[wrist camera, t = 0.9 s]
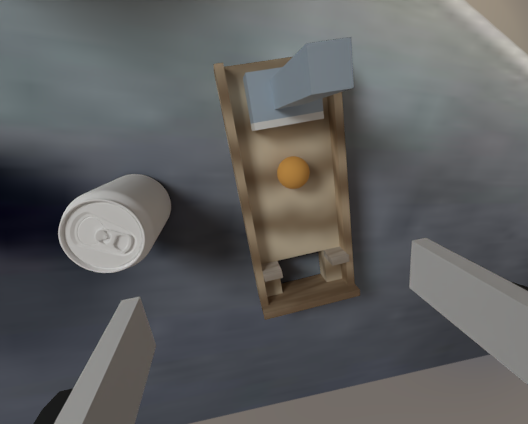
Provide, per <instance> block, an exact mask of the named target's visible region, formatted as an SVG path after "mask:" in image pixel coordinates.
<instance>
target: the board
mask: <svg viewBox="0 0 528 424" xmlns="http://www.w3.org/2000/svg"><path fill="white" fill-rule="evenodd" d="M291 58H292V57H288V58H281V59H274V60H268V61H261V62H254V63H247V64H240V65H234V66H227V67H224V65H223V63H217V64H214V75H215V80H216V85H217V90H218V95H219V100H220V105H221V110H222V115H223V120H224V125H225V130H226V135H227V140H228V145H229V150H230V155H231V160H232V165H233V170H234V174H235V179H236V184H237V189H238V194H239V199H240V204H241V209H242V214H243V219H244V224H245V229H246V234H247V239H248V244H249V249H250V254H251V259H252V264H253V269H254V274H255V279H256V284H257V289H258V294H259V298H260V302H261V306H262V310H263V314H264V318H265V320H266V319H270V318H274V317H278V316H282V315H286V314H290V313H294V312H297V311H301V310H305V309H309V308H313V307H317V306H321V305H325V304H329V303H333V302H337V301H340V300H344V299H348V298H352V297H356V296H360V289H359V288H358V287H357V286H356V285H355V283H354V268H353V253H352V238H351V223H350V208H349V193H348V177H347V162H346V147H345V132H344V117H343V102H342V92H340V93H337V94H334V95H330V96H327V97H324V98H322V101H323V113H324V119H318V120H313V121H307V122H301V123H296V124H290V125H284V126H278V127H273V128H267V129H261V130H256V131H252V129H251V123H250V117H249V111H248V106H247V100H246V94H245V88H244V82H243V77H244V75H245V73H246V72H253V71H260V70H266V69H273V68H280V67H283V66H284V65H285V64H286V63H287V62H288V61H289V60H290V59H291ZM291 156H296V157H300V158H302V159H303V160H304V161H305V162H306V163H307V164H308V166H309V170H310V175H309V179H308V181H307V182H306V183H305V184H304V185H303V186H302V187H300V188H297V189H289V188H286V187H284V186H283V185H282V184H281V183H280V182H279V180H278V177H277V169H278V166H279V164H280V163H281V162H282V161H283V160H284V159H285V158H287V157H291ZM317 251H318V253H319V262H320V271H321V274H318V275H314V276H310V277H306V278H302V279H298V280H294V281H289V282H285V283H281V280H280V278H283V274H282V270H281V268H280V266H279V264H278V261H279V260H283V259H287V258H292V257H296V256H300V255H305V254H309V253H313V252H317Z"/></svg>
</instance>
